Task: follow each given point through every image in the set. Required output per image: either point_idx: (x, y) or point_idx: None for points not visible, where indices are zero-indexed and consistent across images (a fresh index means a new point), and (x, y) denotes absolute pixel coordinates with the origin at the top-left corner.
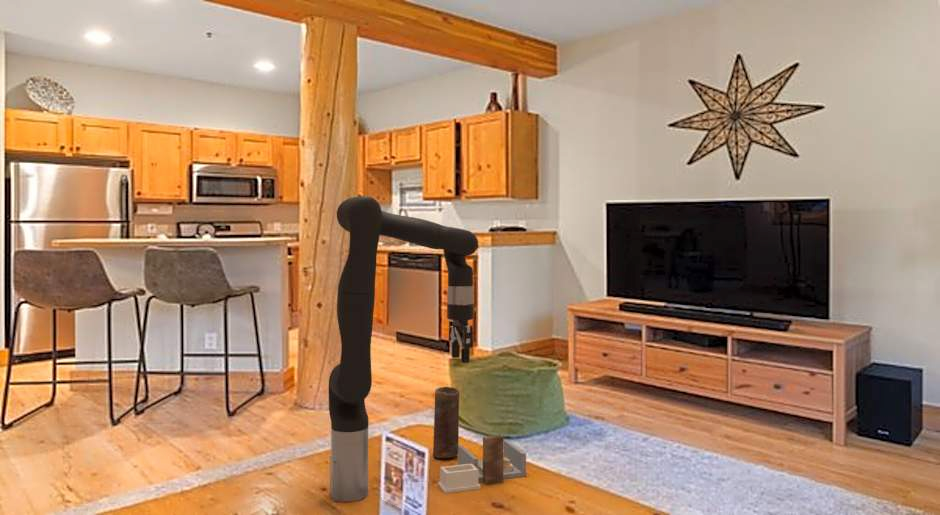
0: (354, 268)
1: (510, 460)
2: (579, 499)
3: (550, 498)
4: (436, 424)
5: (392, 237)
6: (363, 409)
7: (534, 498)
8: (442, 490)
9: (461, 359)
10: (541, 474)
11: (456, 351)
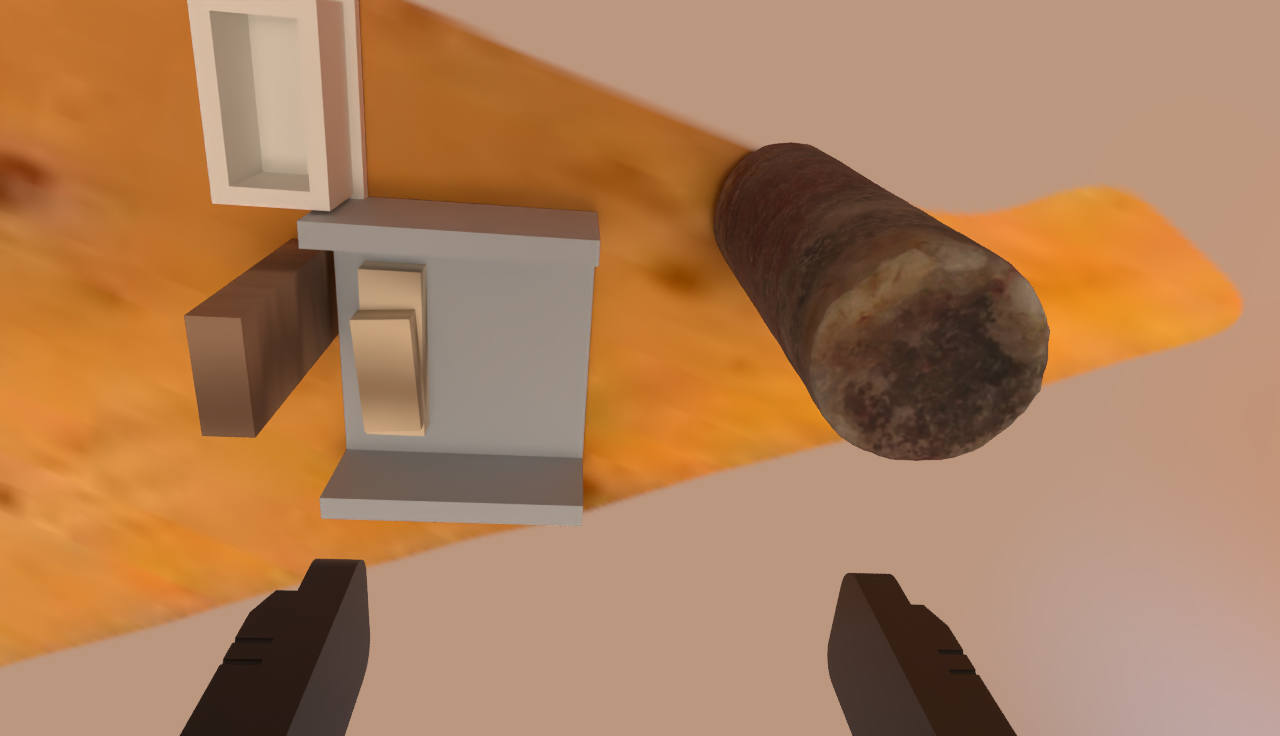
0: None
1: (489, 461)
2: (19, 531)
3: (51, 434)
4: (824, 183)
5: None
6: None
7: (62, 373)
8: None
9: (325, 584)
10: (358, 525)
11: (867, 701)
